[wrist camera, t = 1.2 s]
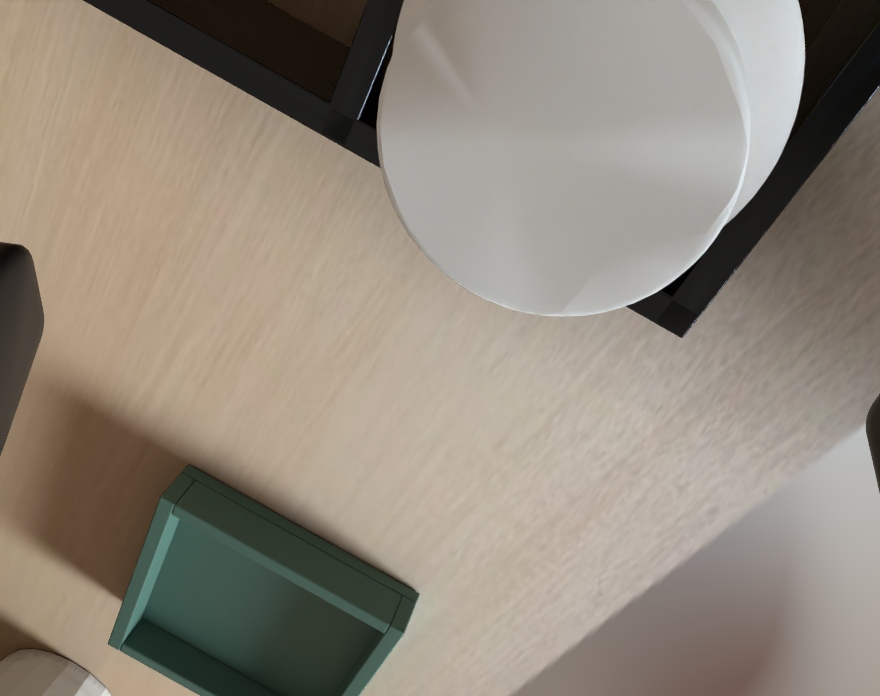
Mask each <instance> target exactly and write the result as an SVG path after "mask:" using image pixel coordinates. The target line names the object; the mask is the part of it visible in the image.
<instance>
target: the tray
mask: <svg viewBox="0 0 880 696" xmlns="http://www.w3.org/2000/svg"><path fill="white" fill-rule="evenodd" d="M418 598H419V593H417V592H416V591H414V590H412V589H410V588H408V587H407V586H405V585H403V584H401V583H399V582H398V581H396V580H394V579H392V578H391V577H389V576H387V575H385V574H383V573H382V572H380V571H378V570H376V569H374V568H373V567H371V566H369V565H367V564H366V563H364V562H362V561H360V560H358V559H357V558H355V557H353V556H351V555H350V554H348V553H346V552H344V551H342V550H341V549H339V548H337V547H335V546H333V545H332V544H330V543H328V542H326V541H325V540H323V539H321V538H319V537H317V536H316V535H314V534H312V533H310V532H308V531H307V530H305V529H303V528H301V527H300V526H298V525H296V524H294V523H292V522H291V521H289V520H287V519H285V518H284V517H282V516H280V515H278V514H276V513H275V512H273V511H271V510H269V509H267V508H266V507H264V506H262V505H260V504H259V503H257V502H255V501H253V500H251V499H250V498H248V497H246V496H244V495H242V494H241V493H239V492H237V491H235V490H234V489H232V488H230V487H228V486H226V485H225V484H223V483H221V482H219V481H217V480H216V479H214V478H212V477H210V476H209V475H207V474H205V473H203V472H201V471H200V470H198V469H196V468H194V467H193V466H191V465H187V467H186V468H185V469H184V470H183V471H182V473H181V474H180V475H179V476H178V477H177V478H176V479H175V481H174V482H173V483H172V484H171V485H170V486H169V487H168V489H167V490H166V491H165V492H164V493H163V494H162V496H161V497H160V500H159V502H158V505H157V508H156V511H155V513H154V516H153V519H152V522H151V525H150V527H149V530H148V533H147V536H146V539H145V541H144V544H143V547H142V550H141V552H140V555H139V558H138V561H137V564H136V566H135V569H134V572H133V575H132V578H131V580H130V583H129V586H128V589H127V591H126V594H125V597H124V600H123V603H122V605H121V608H120V611H119V614H118V617H117V619H116V622H115V625H114V628H113V630H112V633H111V636H110V639H109V642H108V645H110V646H112V647H114V648H116V649H117V650H120V651H121V652H123V653H125V654H127V655H128V656H130V657H132V658H134V659H136V660H137V661H139V662H141V663H143V664H145V665H146V666H148V667H150V668H152V669H154V670H155V671H157V672H159V673H161V674H162V675H164V676H166V677H168V678H170V679H171V680H173V681H175V682H177V683H179V684H180V685H182V686H184V687H186V688H188V689H189V690H191V691H193V692H195V693H196V694H198V695H200V696H359V695H360V694H361V693H362V691H363V690H364V688H365V687H366V686H367V684H368V683H369V682H370V680H371V679H372V677H373V676H374V675H375V673H376V672H377V670H378V669H379V668H380V666H381V665H382V664H383V662H384V661H385V659H386V658H387V657H388V655H389V654H390V653H391V651H392V650H393V648H394V647H395V646H396V644H397V643H398V642H399V640H400V639H401V637H402V636H403V635H404V633H405V631H406V628H407V626H408V623H409V621H410V618H411V615H412V613H413V610H414V608H415V605H416V603H417V600H418Z"/></svg>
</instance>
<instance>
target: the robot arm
mask: <svg viewBox="0 0 880 696" xmlns="http://www.w3.org/2000/svg"><path fill="white" fill-rule="evenodd" d="M43 327H44V313H43V307H42V302H41V297H40V292H39V287H38V282H37V277H36V272H35V267H34V262H33V259H32V256H31V254H30V252H29V250H28V249H26V248H25V247H24V246H22V245H18V244H11V243H3V242H0V455H1V452H2V450H3V447H4V445H5V442H6V439H7V436H8V433H9V430H10V427H11V424H12V421H13V418H14V416H15V413H16V410H17V407H18V404H19V401H20V398H21V395H22V392H23V389H24V386H25V384H26V381H27V378H28V375H29V372H30V369H31V366H32V363H33V360H34V357H35V355H36V352H37V349H38V346H39V343H40V340H41V337H42V333H43ZM866 433H867V438H868V442H869V447H870V451H871V456H872V460H873V465H874V469H875V474H876V478H877V482H878V487H879V492H880V394H879V396H878V397H877V398H876V400H875V401H874V403H873V404H872V406H871V408H870V409H869V412H868V415H867V419H866Z"/></svg>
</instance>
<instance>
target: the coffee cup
mask: <svg viewBox="0 0 880 696" xmlns="http://www.w3.org/2000/svg"><path fill="white" fill-rule="evenodd" d="M0 696H111V694H110V693H109V692H108V690H107V689H106V688H105V687H104V686H103V685H102V684H101V683H100V682H99V681H98V680H97V679H96V678H94V677H93V676H92V675H91V674H90V673H88V672H87V671H85V670H84V669H82V668H81V667H79V666H78V665H76V664H75V663H73V662H72V661H69V660H67V659H65V658H62V657H60V656H58V655H56V654H53V653H50V652H45V651H41V650H36V649H25V650H17V651H15V652H13V653H12V654H10V655H8V656H7V657H6V658H4V659H3V660H2V661H0Z"/></svg>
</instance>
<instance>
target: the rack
mask: <svg viewBox="0 0 880 696" xmlns="http://www.w3.org/2000/svg"><path fill="white" fill-rule="evenodd" d="M83 1H85V2H87V3H89V4H91V5H92V6H94V7H96V8H98V9H99V10H101V11H103V12H105V13H106V14H108V15H110V16H112V17H114V18H115V19H117V20H119V21H121V22H122V23H124V24H126V25H128V26H130V27H131V28H133V29H135V30H137V31H138V32H140V33H142V34H144V35H146V36H147V37H149V38H151V39H153V40H154V41H156V42H158V43H160V44H161V45H163V46H165V47H167V48H169V49H170V50H172V51H174V52H176V53H177V54H179V55H181V56H183V57H185V58H186V59H188V60H190V61H192V62H193V63H195V64H197V65H199V66H200V67H202V68H204V69H206V70H208V71H209V72H211V73H213V74H215V75H216V76H218V77H220V78H222V79H224V80H225V81H227V82H229V83H231V84H232V85H234V86H236V87H238V88H240V89H241V90H243V91H245V92H247V93H248V94H250V95H252V96H254V97H255V98H257V99H259V100H261V101H263V102H264V103H266V104H268V105H270V106H271V107H273V108H275V109H277V110H279V111H280V112H282V113H284V114H286V115H287V116H289V117H291V118H293V119H294V120H296V121H298V122H300V123H302V124H303V125H305V126H307V127H309V128H310V129H312V130H314V131H316V132H318V133H319V134H321V135H323V136H325V137H326V138H328V139H330V140H332V141H334V142H335V143H337V144H339V145H341V146H342V147H344V148H346V149H348V150H349V151H351V152H353V153H355V154H357V155H358V156H360V157H362V158H364V159H365V160H367V161H369V162H371V163H373V164H374V165H376V166H378V167H380V161H379V154H378V144H377V114H378V105H379V96H380V92H381V89H382V85H383V81H384V78H385V74H386V70H387V68H388V65H389V63H390V60H391V58H392V55H393V45H394V39H395V33H396V28H397V24H398V19H399V16H400V12H401V9H402V5H403V2H404V0H368V2H367V5H366V7H365V10H364V13H363V15H362V18H361V21H360V23H359V26H358V28H357V31H356V34H355V36H354V39H353V42H352V44H351V47H350V49H349V48H348V47H346V46H344V45H342V44H341V43H339V42H337V41H335V40H333V39H332V38H330V37H328V36H326V35H325V34H323V33H321V32H319V31H317V30H316V29H314V28H312V27H310V26H309V25H307V24H305V23H303V22H302V21H300V20H298V19H296V18H294V17H293V16H291V15H289V14H287V13H286V12H284V11H282V10H280V9H279V8H277V7H275V6H273V5H271V4H270V3H268V2H266V1H264V0H83ZM879 87H880V0H842V2H841V3H840V4H839V6H838V7H837V9H836V10H835V12H834V13H833V14H832V16H831V17H830V19H829V20H828V21H827V23H826V24H825V26H824V27H823V28H822V30H821V31H820V33H819V34H818V35H817V37H816V38H815V40H814V41H813V42H812V44H811V45H810V47H809V48H808V49H807V51H806V52H805V65H804V77H803V85H802V91H801V97H800V102H799V106H798V110H797V115H796V118H795V121H794V124H793V127H792V129H791V132H790V135H789V137H788V140H787V142H786V145H785V147H784V149H783V151H782V153H781V155H780V157H779V159H778V161H777V163H776V165H775V166H774V168H773V170H772V171H771V173H770V174H769V176H768V178H767V179H766V181H765V182H764V183H763V185H762V186H761V187H760V189H759V190H758V191H757V193H756V194H755V195H754V197H753V198H752V199H751V200H750V201H749V202H748V203H747V204H746V205H745V206H744V208H743V209H742V210H741V211H740V212H739V213H738V214H737V215H736V216H735V217H734V218H733V219H732V220H730V221H729V222H728V223H727V224H726V225H725V226H724V227H723V228H722V229H721V231H720V232H719V234H718V235H717V237H716V239H715V240H714V241H713V242H712V244H711V245H710V246H709V248H708V249H707V250H706V251H705V252H704V254H703V255H702V256H701V257H700V258H699V259H698V260H697V261H696V262H695V263H694V264H693V265H692V266H691V267H690V268H688V269H687V270H686V271H685V272H684V273H683V274H681V275H680V276H679V277H678V278H677V279H675V280H674V281H672V282H671V283H670V284H668V285H667V286H665V287H664V288H662V289H661V290H659V291H658V292H656V293H654V294H652V295H650V296H648V297H646V298H644V299H642V300H639V301H637V302H635V303H633V304H630V305H627V306H626V307H628V308H630V309H631V310H633V311H635V312H637V313H639V314H640V315H642V316H644V317H646V318H647V319H649V320H651V321H653V322H655V323H656V324H658V325H659V326H661V327H663V328H665V329H667V330H668V331H670V332H672V333H674V334H675V335H677V336H679V337H681V338H683V337H684V336H685V335H686V333H687V332H688V331H689V330H690V328H691V327H692V326H693V325H694V323H695V322H696V321H697V319H698V318H699V317H700V316H701V314H702V313H703V312H704V311H705V309H706V308H707V307H708V305H709V304H710V303H711V302H712V300H713V299H714V298H715V296H716V295H717V294H718V293H719V291H720V290H721V289H722V288H723V286H724V285H725V284H726V282H727V281H728V280H729V279H730V277H731V276H732V275H733V274H734V272H735V271H736V270H737V268H738V267H739V266H740V265H741V263H742V262H743V261H744V260H745V258H746V257H747V256H748V254H749V253H750V252H751V251H752V249H753V248H754V247H755V246H756V244H757V243H758V242H759V240H760V239H761V238H762V237H763V235H764V234H765V233H766V231H767V230H768V229H769V228H770V226H771V225H772V224H773V223H774V221H775V220H776V219H777V217H778V216H779V215H780V214H781V212H782V211H783V210H784V209H785V207H786V206H787V205H788V203H789V202H790V201H791V200H792V198H793V197H794V196H795V195H796V193H797V192H798V191H799V189H800V188H801V187H802V186H803V184H804V183H805V182H806V181H807V179H808V178H809V177H810V175H811V174H812V173H813V172H814V170H815V169H816V168H817V166H818V165H819V164H820V163H821V161H822V160H823V159H824V158H825V156H826V155H827V154H828V152H829V151H830V150H831V149H832V147H833V146H834V145H835V144H836V142H837V141H838V140H839V138H840V137H841V136H842V135H843V133H844V132H845V131H846V130H847V128H848V127H849V126H850V124H851V123H852V122H853V121H854V119H855V118H856V117H857V116H858V114H859V113H860V112H861V110H862V109H863V108H864V107H865V105H866V104H867V103H868V101H869V100H870V99H871V98H872V96H873V95H874V94H875V93H876V91H877V90H878V89H879ZM380 168H381V167H380Z"/></svg>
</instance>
